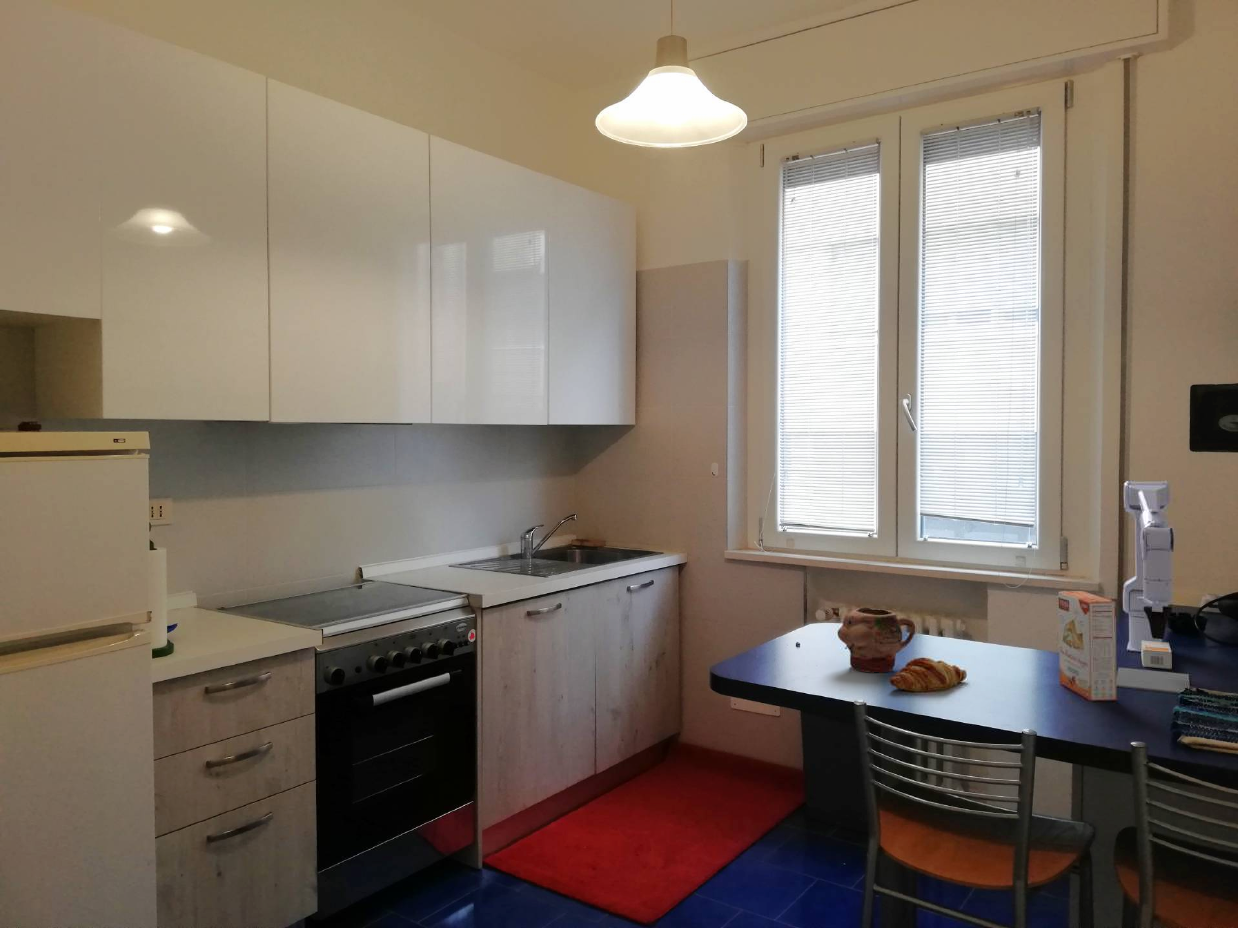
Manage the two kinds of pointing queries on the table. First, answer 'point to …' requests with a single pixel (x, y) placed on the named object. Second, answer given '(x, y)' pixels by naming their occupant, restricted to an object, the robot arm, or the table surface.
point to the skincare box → (1156, 654)
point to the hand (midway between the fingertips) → (1157, 638)
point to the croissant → (927, 675)
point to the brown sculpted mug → (874, 638)
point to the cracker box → (1088, 645)
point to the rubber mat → (1152, 680)
